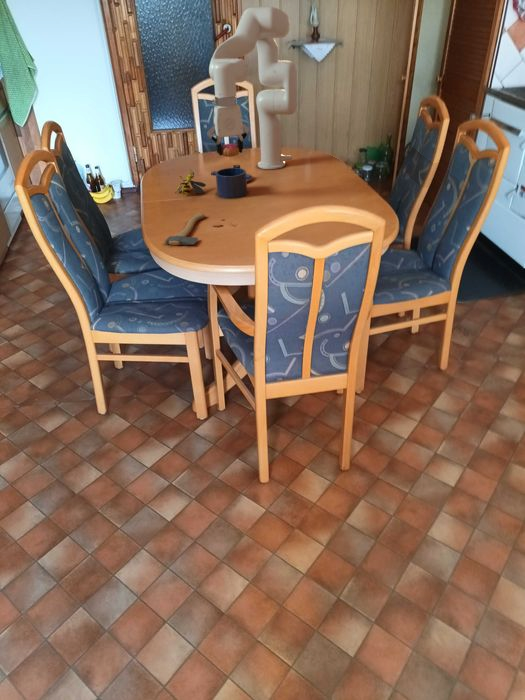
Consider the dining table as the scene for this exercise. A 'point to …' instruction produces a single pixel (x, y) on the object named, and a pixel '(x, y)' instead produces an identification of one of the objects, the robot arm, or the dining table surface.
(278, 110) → the robot arm
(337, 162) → the dining table surface
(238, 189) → the pot
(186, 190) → the toy
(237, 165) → the pot lid
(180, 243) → the hand axe
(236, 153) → the donut
